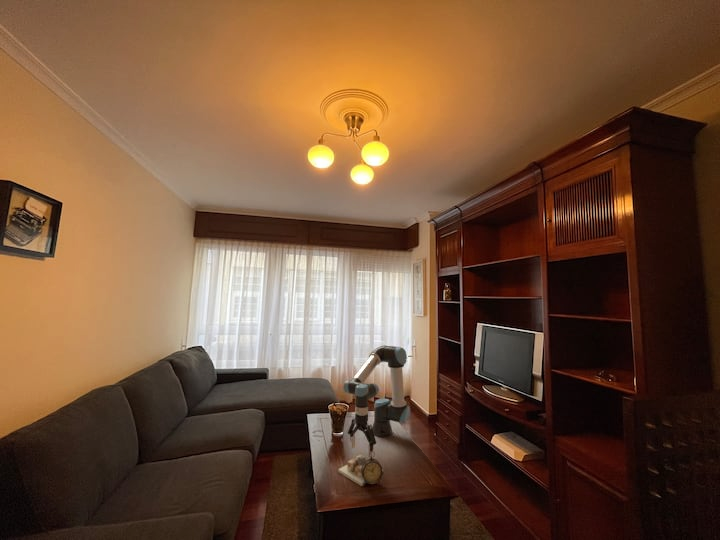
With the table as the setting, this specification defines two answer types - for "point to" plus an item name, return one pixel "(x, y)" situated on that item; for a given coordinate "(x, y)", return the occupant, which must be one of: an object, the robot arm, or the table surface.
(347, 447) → the table surface
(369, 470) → the alarm clock
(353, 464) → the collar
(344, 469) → the post board
